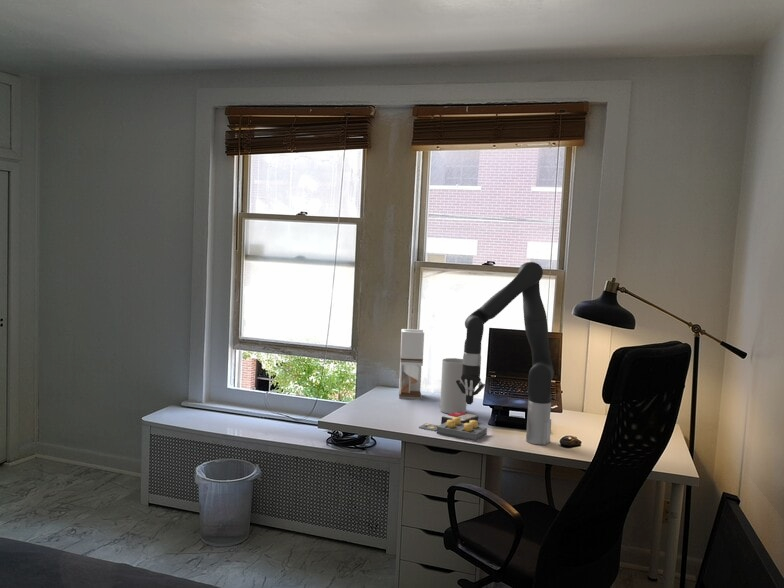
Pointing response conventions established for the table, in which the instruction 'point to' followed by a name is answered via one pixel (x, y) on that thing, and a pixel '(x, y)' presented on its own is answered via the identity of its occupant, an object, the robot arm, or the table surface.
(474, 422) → the button
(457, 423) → the button
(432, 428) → the card
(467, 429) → the button
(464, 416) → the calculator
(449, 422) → the button
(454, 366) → the cylinder vase
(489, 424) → the table surface
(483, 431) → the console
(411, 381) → the white square dispenser
